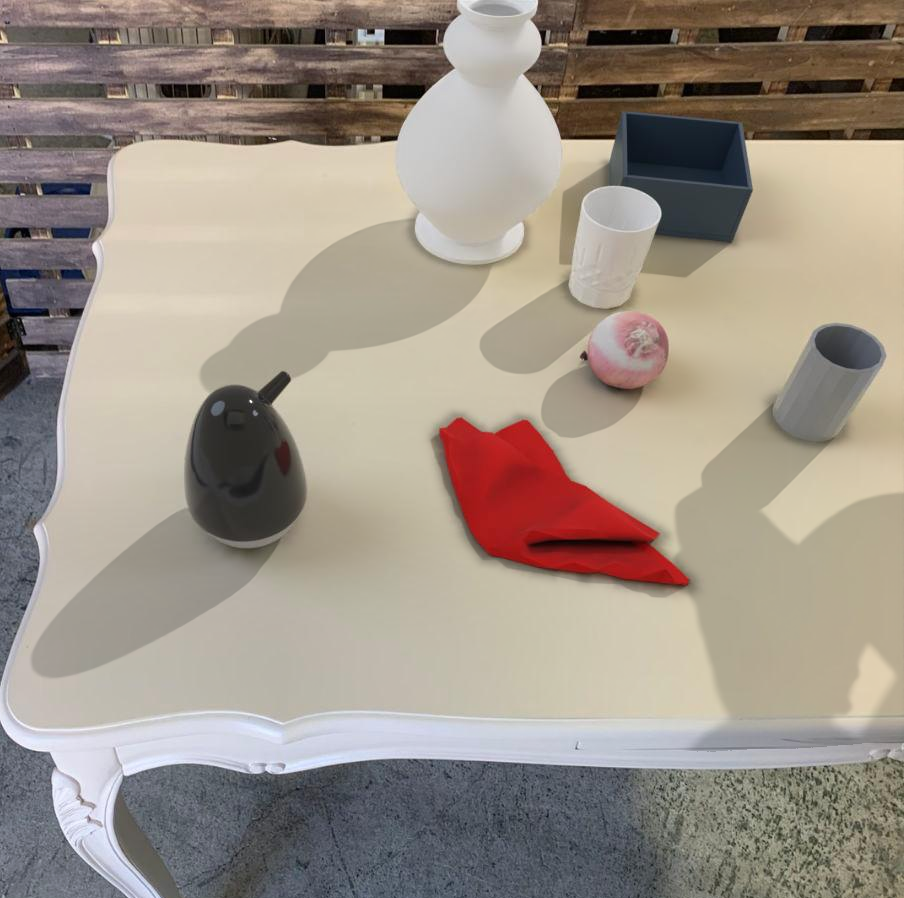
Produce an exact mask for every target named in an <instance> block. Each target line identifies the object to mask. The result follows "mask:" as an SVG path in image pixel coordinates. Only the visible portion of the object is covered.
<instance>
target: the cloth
mask: <svg viewBox="0 0 904 898" xmlns="http://www.w3.org/2000/svg"><path fill="white" fill-rule="evenodd" d="M438 429H439V431H438V432H439V438H440V440H441V442H442V443H443V450H444V457H445V462H446V465H447V468H448V472H449V476H450V479H451V483H452V487H453V490H454V492H455V495H456V498H457V500H458V503H459V506H460V509H461V511H462V515H463V517H464V519H465V521H466V524H467V526H468V528H469V531H470V532H471V534H472V536H473V538H474V539H475V540H476V541H477V542H478V544H479V545H480V546H481V547H482V548H483V549H484V551H485V552H486V553H487V554H488V555H490V556H493V557H498V558H502V559H505V560H509V561H514V562H517V563H521V564H525V565H528V566H532V567H537V568H543V569H551V570H553V569H554V570H561V571H569V572H575V573H576V572H577V573H583V574H605V575H608V576H613V577H617V578H621V579H624V580H631V581H643V582H651V583H661V584H671V585H672V584H674V585H684V586H688V584H689V583H690V578H689V577H688V576H686V575H685V574H684V573H683V572H682V571H681V569H680V568H679V567H677V566H676V565H675V564H674V563H673V562H671V561H670V560H669V559H668V558H667V557H665V555H663V554H662V553H661V552H660V551H658V549H656V548H655V547H654V546H652V545H651V544H650V543H649V542H651V541H652V542H654V541H655V540H656V539H657V537H658V536H659V535H660V532H659V531H657V530H655V529H654V528H652V527H650V526H649V525H647V524H645V523H644V522H642V521H641V520H639V519H637V518H636V517H634V516H633V515H631V514H629V513H627V512H626V511H624V510H622V509H621V508H619V507H618V506H616V505H614V504H613V503H611V502H609V501H607V500H606V499H605V498H603V497H602V496H600V495H599V494H598V493H596V492H595V491H594V490H593V489H591V488H589V487H588V486H587V485H585V484H582V483H579V482H576V481H573V480H572V479H571V478H570V476H568V475H567V473H566V472H565V470H564V467H563V466H562V464H561V462H560V460H559V459H558V457H557V455H556V454H555V451H554V450H553V449H552V448H551V446H550V445H549V444H548V442H547V441H546V440H545V439H544V437H543V436H542V434H541V433H540V432H539V431H538V429H536V427H534V426H533V424H532V423H531V422H530V421H529V420H528V419H521V420H518V421H517V422H515V423H512V424H510V425H508V426H505V427H503V428H501V429H500V430H498V431H496V432H495V433H494V432H492V431H481V430H480V429H478V428H477V427H476V426H474V425H473V424H471V423H470V422H468V421H467V420H466V419H464V418H463V417H456V418H455V419H454V420H452V422H450V424H448V425H447V426H446V427H439V428H438Z"/></svg>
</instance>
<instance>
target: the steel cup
mask: <svg viewBox="0 0 904 898" xmlns="http://www.w3.org/2000/svg"><path fill="white" fill-rule="evenodd" d="M886 358H887V354H886V349H885V346H884V345H883V344H882V342H881V341H880V340H879V338H877V337H876V336H875V335H873V334H872V333H870V332H869V331H868V330H866V329H864V328H861V327H858V326H855V325H853V324H849V323H840V322H832V323H825V324H824V323H823V324H822V325H820V326H819V327H816V328H815V329H813V331H812V333H811V334H810V336H809V338H808V340H807V342H806V343H805V345H804V348H803V349H802V351H801V353H800V355H799V357H798V359H797V361H796V362H795V364H794V366H793V368H792V370H791V372H790V373H789V375H788V377H787V379H786V381H785V383H784V385H783V387H782V388H781V390H780V392H779V394H778V396H777V397H776V400H775V402H774V403H773V406H772V416H773V418H774V421H775V422H776V424H777V425H778V426H779V427H780V428H781V429H782V430H783V431H785V432H786V433H787V434H789V435H791V436H792V437H794V438H797V439H800V440H802V441H806V442H814V443H820V442H826V441H829V440H832V439H834V438H835V437H836V436H838V435H839V433H840V432H841V431H842V430H843V428H844V427H845V425H846V424H847V422H848V420H849V419H850V417H851V416H852V414H853V412H854V411H855V409H856V408H857V406H858V405H859V403H860V402H861V400H862V399H863V398H864V395H866V392H867V391H868V389H869V388H870V386H871V384H872V383H873V381H874V380H875V378H876V377H877V375H878V373H879V372H880V371H881V369H882V367H883V366H884V364H885V362H886Z"/></svg>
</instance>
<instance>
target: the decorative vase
mask: <svg viewBox="0 0 904 898" xmlns="http://www.w3.org/2000/svg"><path fill="white" fill-rule="evenodd" d="M538 5H539V0H456V8H457V11H458V12H459V13H460V14H459V15H458V16H457V17H455V18H454V19H453V20H452V21H451V23H449V24H448V26H447V28H446V29H445V32H444V35H443V39H442V45H443V47H442V48H443V52H444V55H445V56H446V58H447V60H448V62H449V63H450V64H451V65H452V66H453V69H452V70H450V71H449V72H447V73H446V74H445V75H443V76H442V78H440V79H439V80H438V81H437V82H436V83H434V84H433V85H432V86H431V87H430V88H429V89H428V90H427V91H426V92H425V93H424V94H423V95H422V96H421V97H420V98H419V100H417V102H416V104H415V105H414V106H413V107H412V109H411V110H410V111H409V113H408V115H407V116H406V118H405V120H404V121H403V123H402V125H401V128H400V130H399V133H398V136H397V140H396V146H395V154H394V161H395V162H394V163H395V164H394V165H395V170H396V176H397V179H398V181H399V184H400V185H401V188H402V190H403V191H404V193H405V194H406V196H407V198H408V199H409V200H410V201H411V203H412V204H413V205H414V206H415V208H416V209H417V210H418V214H417V216H416V218H415V221H414V222H415V223H414V232H415V233H414V234H415V236H416V239H417V241H418V243H420V245H421V246H422V247H423V248H424V249H425V250H426V251H428V252H429V253H430V254H432V255H434V256H435V257H438V258H439V259H442V260H445V261H448V262H452V263H454V264H455V263H456V264H461V265H486V264H487V265H488V264H492V263H496V262H499V261H502V260H504V259H506V258H508V257H509V256H511V255H513V254H514V253H515V252H516V251H517V250H518V249H519V248H520V247H521V245H522V243H523V240H524V237H525V235H524V234H525V226H524V223H523V222H524V221H525V220H526V219H528V218H529V217H531V215H533V213H535V212H536V211H537V210H538V209H540V208H541V207H542V206H543V205H544V204H545V202H546V201H547V200H548V199H549V197H550V196H551V195H552V193H553V192H554V191H555V188H556V187H557V183H558V182H559V178H560V175H561V172H562V166H563V164H562V163H563V144H562V138H561V135H560V131H559V127H558V124H557V122H556V120H555V118H554V116H553V114H552V112H551V110H550V108H549V107H548V104H547V103H546V101H545V99H544V98H543V96H542V95H541V94H540V93H539V91H538V90H537V88H536V87H535V86H534V85H533V84H532V83H531V82H530V81H529V79H528V78H527V77H526V76H525V75H524V74H525V73H526V72H527V71H528V70H530V69H531V68H532V67H533V66H534V64H535V63H536V62H537V61H538V59H539V57H540V54H541V51H542V38H541V37H542V36H541V33H540V31H539V30H538V27H537V26H536V24H535V23H534V22H533V21H532V20H531V19H533V17H534V16H536V14H537V11H538Z"/></svg>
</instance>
